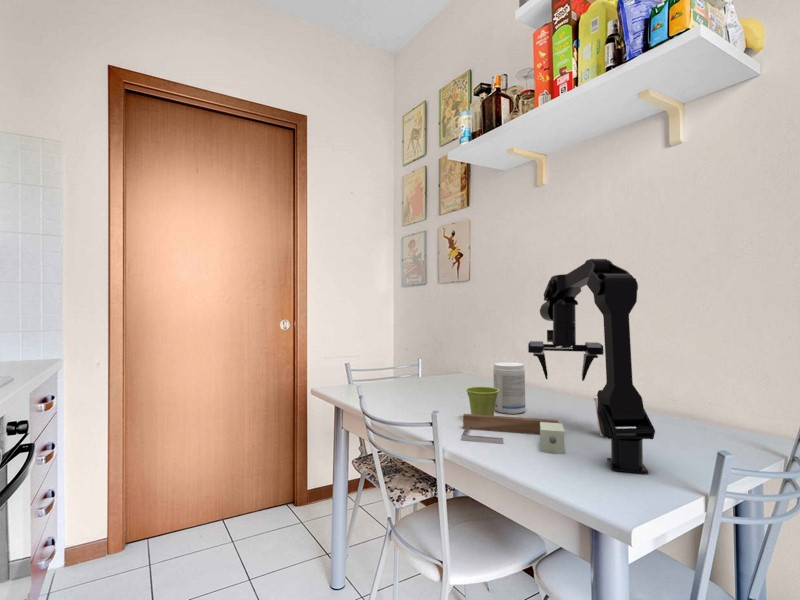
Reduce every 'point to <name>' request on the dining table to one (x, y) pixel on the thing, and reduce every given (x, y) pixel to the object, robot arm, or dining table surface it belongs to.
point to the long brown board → (504, 423)
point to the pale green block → (552, 437)
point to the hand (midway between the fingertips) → (564, 379)
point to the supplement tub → (509, 387)
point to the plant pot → (482, 400)
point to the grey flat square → (479, 437)
